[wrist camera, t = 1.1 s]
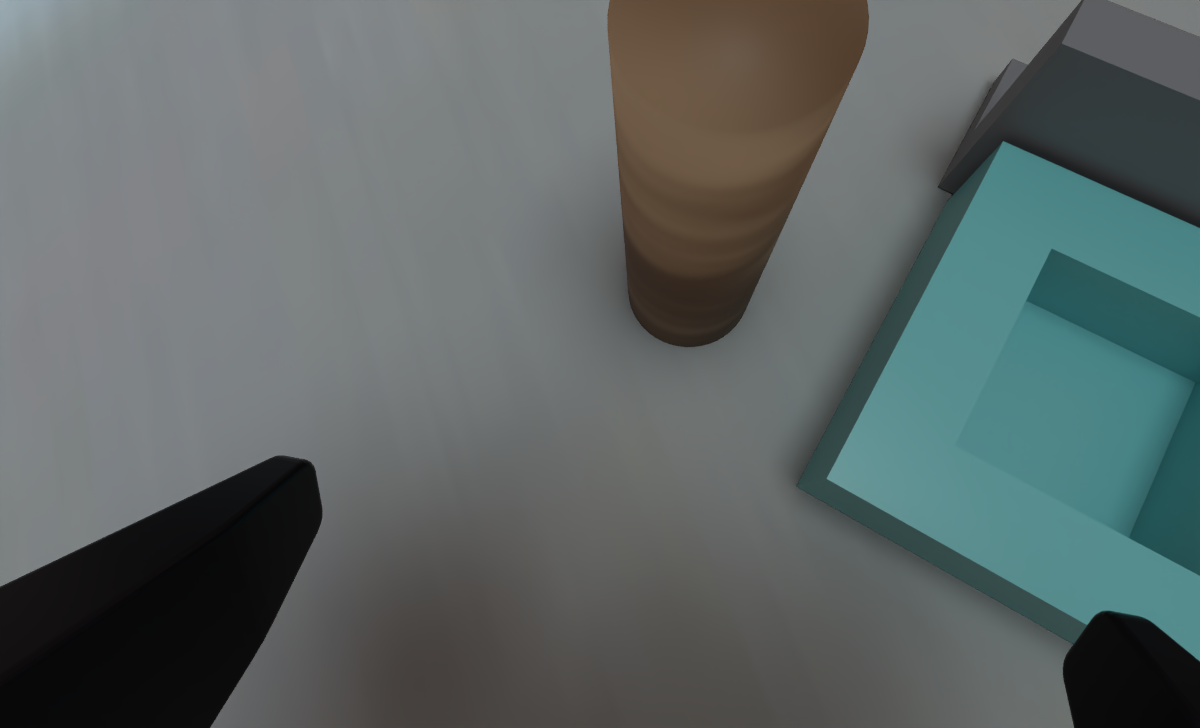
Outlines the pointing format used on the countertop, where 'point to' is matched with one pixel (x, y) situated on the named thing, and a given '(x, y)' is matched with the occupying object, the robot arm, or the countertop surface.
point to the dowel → (718, 143)
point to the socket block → (1037, 403)
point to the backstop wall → (1102, 108)
